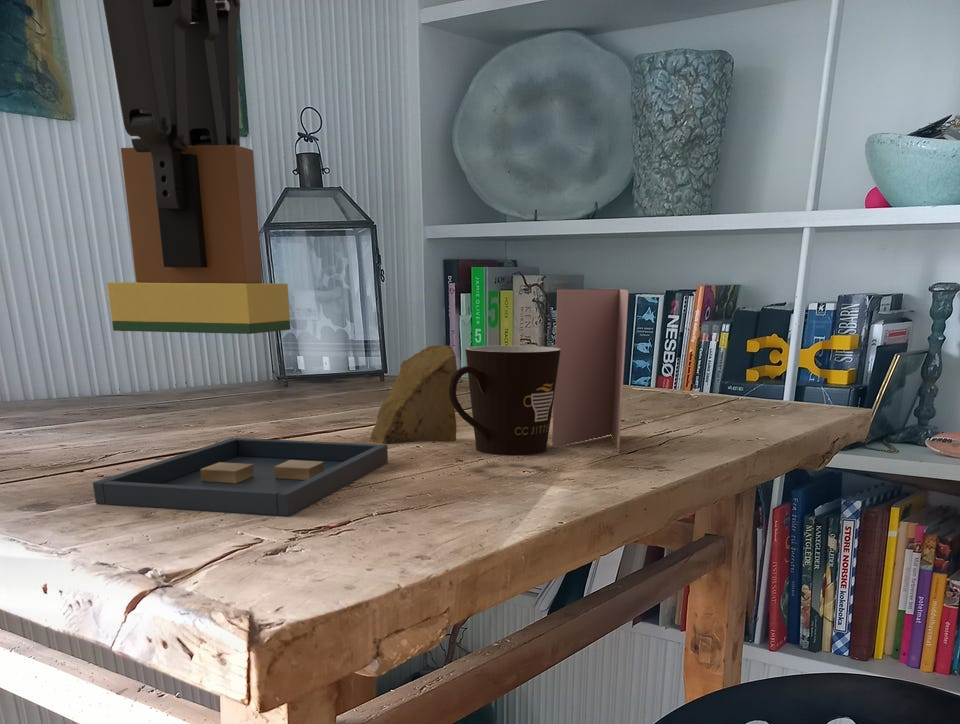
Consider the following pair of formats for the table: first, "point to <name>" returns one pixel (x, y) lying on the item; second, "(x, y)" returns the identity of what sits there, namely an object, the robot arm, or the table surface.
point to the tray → (258, 495)
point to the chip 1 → (227, 472)
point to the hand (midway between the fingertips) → (198, 266)
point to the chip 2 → (298, 469)
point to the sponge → (229, 252)
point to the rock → (420, 400)
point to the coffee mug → (509, 397)
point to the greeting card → (589, 364)
